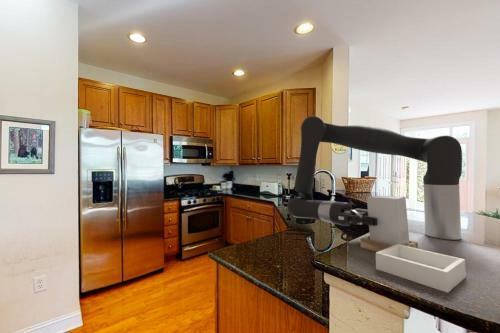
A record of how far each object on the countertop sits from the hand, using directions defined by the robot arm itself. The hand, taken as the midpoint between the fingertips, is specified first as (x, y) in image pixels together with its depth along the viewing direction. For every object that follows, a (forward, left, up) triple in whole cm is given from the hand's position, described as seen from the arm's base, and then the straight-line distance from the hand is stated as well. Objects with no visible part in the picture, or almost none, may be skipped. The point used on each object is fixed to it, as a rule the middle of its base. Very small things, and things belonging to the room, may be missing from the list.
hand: (384, 220), depth 65 cm
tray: (+11, +12, -8) cm, 18 cm away
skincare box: (0, +1, -8) cm, 8 cm away
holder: (0, +1, -8) cm, 8 cm away
